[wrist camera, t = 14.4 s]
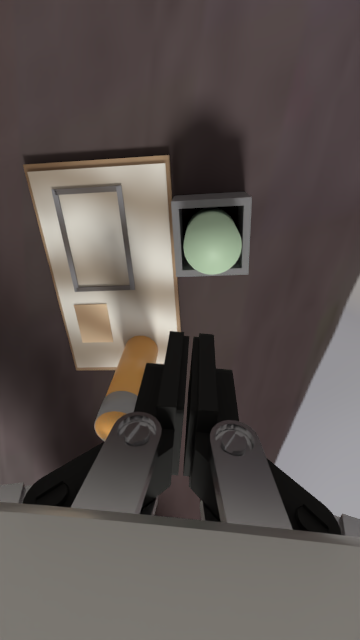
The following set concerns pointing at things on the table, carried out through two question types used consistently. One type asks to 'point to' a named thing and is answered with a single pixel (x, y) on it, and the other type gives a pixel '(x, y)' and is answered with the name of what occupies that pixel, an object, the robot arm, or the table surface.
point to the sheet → (109, 252)
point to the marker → (125, 383)
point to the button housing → (212, 200)
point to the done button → (212, 241)
